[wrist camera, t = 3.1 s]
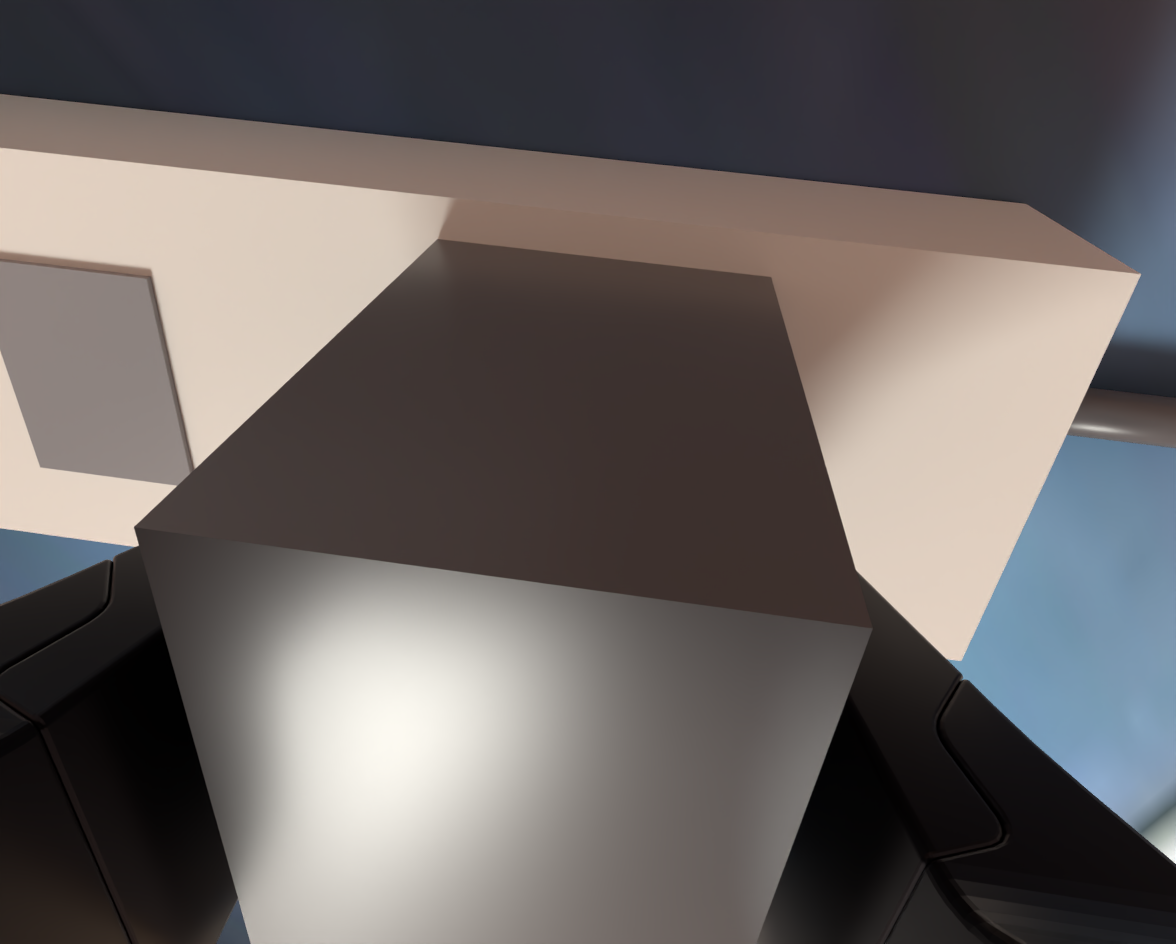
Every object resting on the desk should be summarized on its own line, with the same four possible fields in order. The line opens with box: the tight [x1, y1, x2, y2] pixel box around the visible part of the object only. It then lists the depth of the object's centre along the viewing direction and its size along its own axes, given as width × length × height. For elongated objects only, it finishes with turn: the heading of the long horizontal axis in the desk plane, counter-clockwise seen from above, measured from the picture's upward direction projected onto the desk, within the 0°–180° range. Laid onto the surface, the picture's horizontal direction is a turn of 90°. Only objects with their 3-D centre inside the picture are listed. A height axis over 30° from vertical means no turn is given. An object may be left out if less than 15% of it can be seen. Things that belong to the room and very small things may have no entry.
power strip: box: [0, 94, 1176, 661], centre depth 12 cm, size 27×6×4 cm, turn 85°
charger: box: [134, 239, 873, 944], centre depth 9 cm, size 4×5×8 cm
